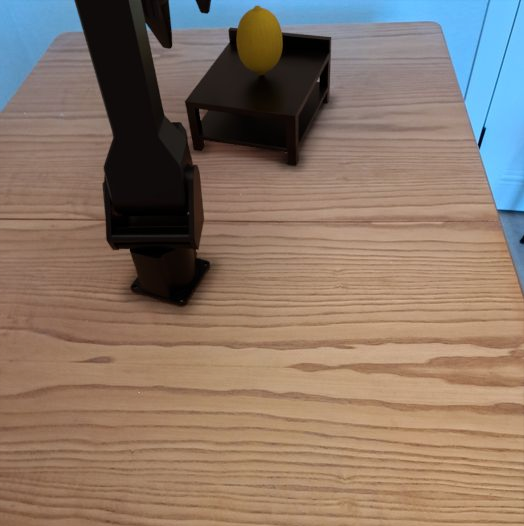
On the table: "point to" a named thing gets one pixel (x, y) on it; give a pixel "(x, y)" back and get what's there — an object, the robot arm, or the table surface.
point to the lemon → (259, 40)
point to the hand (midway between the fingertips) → (187, 29)
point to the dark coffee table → (262, 97)
